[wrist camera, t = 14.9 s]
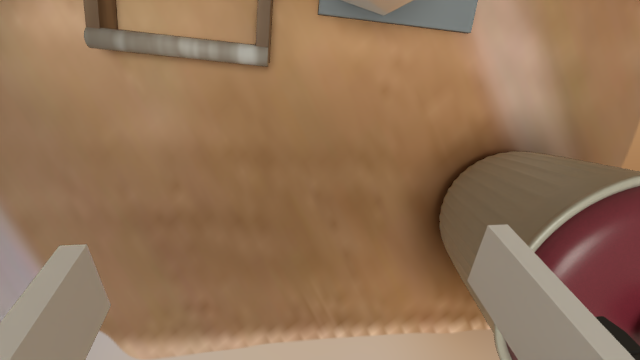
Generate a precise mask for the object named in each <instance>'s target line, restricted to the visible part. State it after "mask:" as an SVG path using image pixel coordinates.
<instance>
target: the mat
mask: <svg viewBox="0 0 640 360" xmlns="http://www.w3.org/2000/svg"><path fill="white" fill-rule="evenodd" d="M477 2H478V0H413V1H412V2H410V3H408V4H406V5H404V6H402V7H400V8H398V9H396V10H394V11H392V12H391V13H389V14H387V15H385V16H383V15H380V14H377V13H375V12H372V11H369V10H366V9H364V8H361V7H358V6H355V5H352V4H350V3H347V2H344V1H341V0H319V9H318V15H326V16H334V17H342V18H350V19H358V20H366V21H374V22H382V23H390V24H398V25H406V26H414V27H422V28H430V29H438V30H446V31H454V32H462V33H471V29H472V25H473V20H474V16H475V11H476V6H477Z"/></svg>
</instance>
